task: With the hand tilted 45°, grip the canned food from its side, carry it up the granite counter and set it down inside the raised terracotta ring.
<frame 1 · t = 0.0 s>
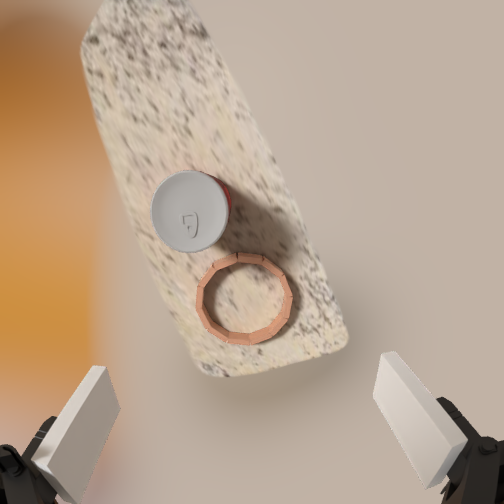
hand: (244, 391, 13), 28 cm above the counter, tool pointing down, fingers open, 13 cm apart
ring: (243, 297, 41), on the counter
canned food: (202, 204, 39), on the counter
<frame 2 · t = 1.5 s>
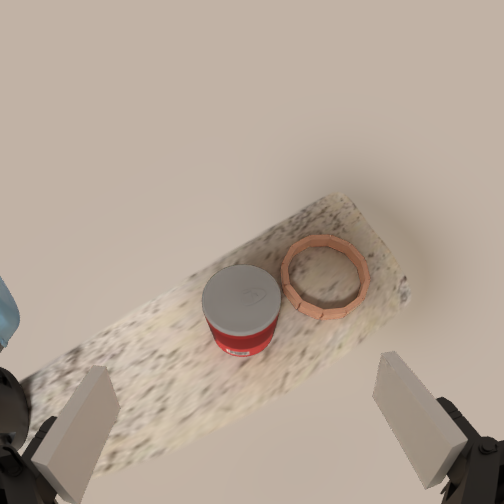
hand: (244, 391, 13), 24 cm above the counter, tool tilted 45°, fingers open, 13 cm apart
ring: (324, 278, 43), on the counter
canned food: (243, 330, 39), on the counter
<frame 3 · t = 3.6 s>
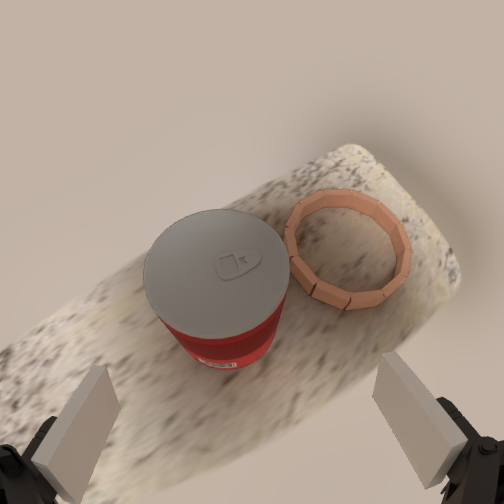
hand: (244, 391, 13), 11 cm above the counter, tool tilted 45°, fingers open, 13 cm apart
ring: (346, 249, 29), on the counter
canned food: (228, 328, 25), on the counter
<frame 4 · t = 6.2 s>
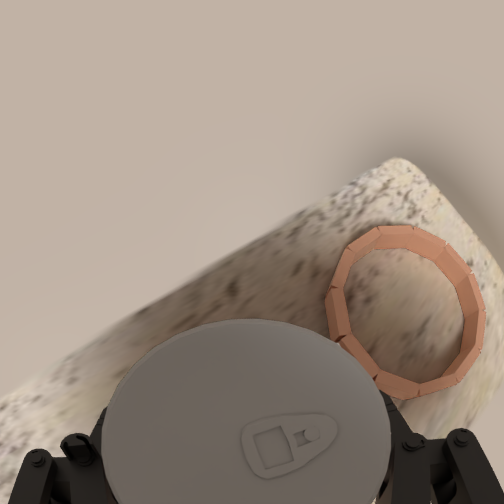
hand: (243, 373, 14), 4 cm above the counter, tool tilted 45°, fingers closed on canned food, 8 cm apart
ring: (407, 312, 20), on the counter
canned food: (248, 434, 16), on the counter, touching gripper
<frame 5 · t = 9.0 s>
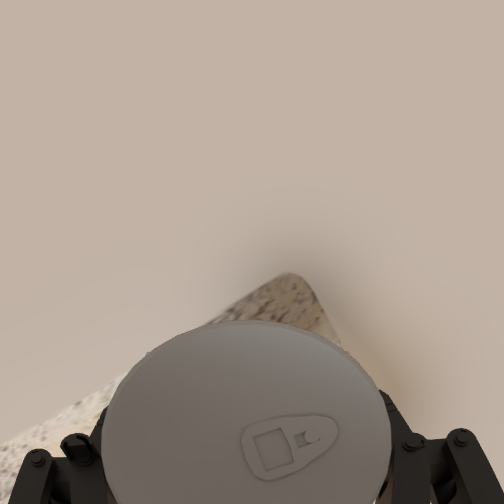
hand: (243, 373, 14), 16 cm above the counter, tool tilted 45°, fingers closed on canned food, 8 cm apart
canned food: (248, 435, 16), point 12 cm above the counter, touching gripper
when the fingers open (5 cm above the counter, at t = 11.9 s): canned food drops 1 cm, resting in ring.
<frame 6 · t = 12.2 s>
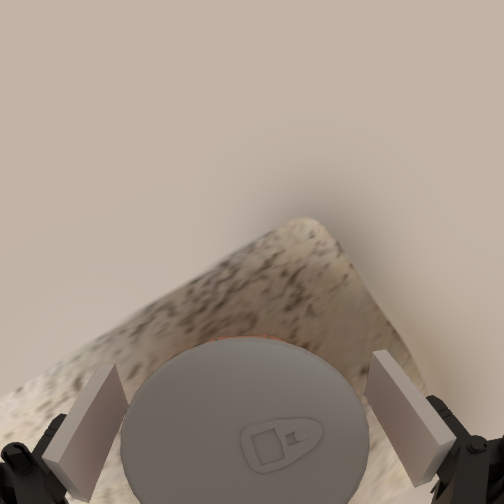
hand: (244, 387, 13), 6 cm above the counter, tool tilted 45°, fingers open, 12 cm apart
canned food: (247, 435, 17), resting in ring
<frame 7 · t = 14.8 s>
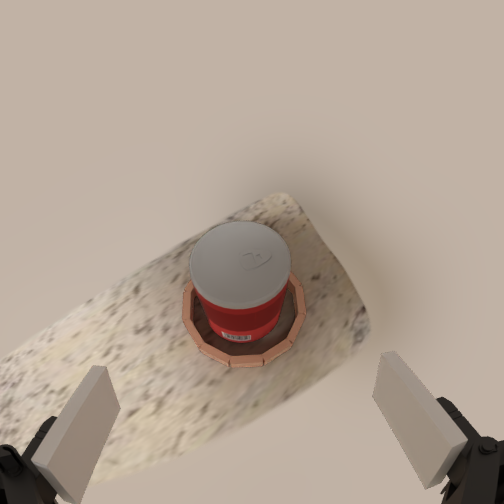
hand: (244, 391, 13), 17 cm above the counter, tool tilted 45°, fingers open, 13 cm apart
ring: (243, 310, 32), on the counter
canned food: (243, 311, 32), resting in ring
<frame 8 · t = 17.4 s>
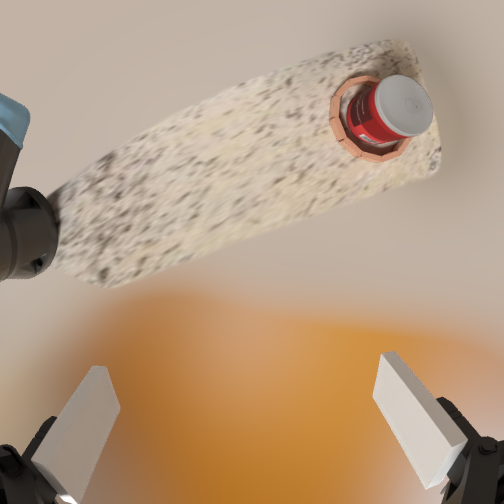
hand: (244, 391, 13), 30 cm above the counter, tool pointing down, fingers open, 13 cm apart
ring: (370, 119, 38), on the counter
canned food: (368, 120, 38), resting in ring
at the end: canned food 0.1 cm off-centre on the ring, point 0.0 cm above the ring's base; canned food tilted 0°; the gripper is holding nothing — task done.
